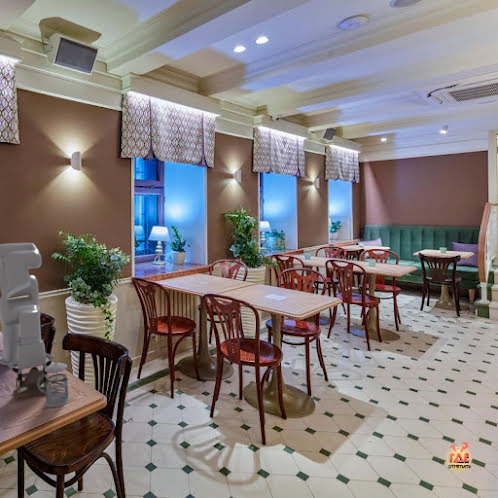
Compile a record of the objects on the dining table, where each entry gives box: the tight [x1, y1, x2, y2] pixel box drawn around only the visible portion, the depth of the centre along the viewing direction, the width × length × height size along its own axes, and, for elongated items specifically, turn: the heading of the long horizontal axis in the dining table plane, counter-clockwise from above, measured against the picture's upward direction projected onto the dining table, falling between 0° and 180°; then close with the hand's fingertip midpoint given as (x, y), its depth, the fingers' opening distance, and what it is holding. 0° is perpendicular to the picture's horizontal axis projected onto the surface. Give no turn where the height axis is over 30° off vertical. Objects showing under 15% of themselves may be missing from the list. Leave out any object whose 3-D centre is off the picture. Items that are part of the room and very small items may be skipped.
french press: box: [37, 340, 72, 408], centre depth 149 cm, size 10×12×25 cm
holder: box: [16, 374, 51, 401], centre depth 159 cm, size 12×12×3 cm
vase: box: [24, 366, 43, 390], centre depth 158 cm, size 7×7×9 cm
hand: (33, 379), depth 158 cm, fingers open, 8 cm apart
